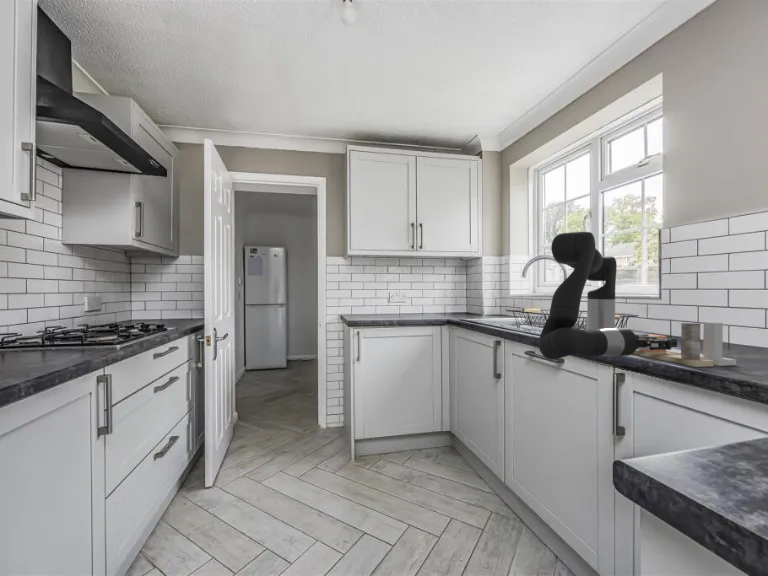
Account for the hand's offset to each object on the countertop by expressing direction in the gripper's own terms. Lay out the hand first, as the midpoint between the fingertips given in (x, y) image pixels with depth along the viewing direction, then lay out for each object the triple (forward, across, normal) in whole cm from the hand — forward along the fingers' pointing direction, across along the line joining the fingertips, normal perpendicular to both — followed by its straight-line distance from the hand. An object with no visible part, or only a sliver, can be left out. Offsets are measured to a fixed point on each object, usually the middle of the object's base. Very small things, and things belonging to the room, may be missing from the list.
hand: (661, 340), depth 107 cm
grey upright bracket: (+18, +7, +7) cm, 21 cm away
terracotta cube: (+10, +12, +5) cm, 17 cm away
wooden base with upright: (+10, +7, +7) cm, 14 cm away
